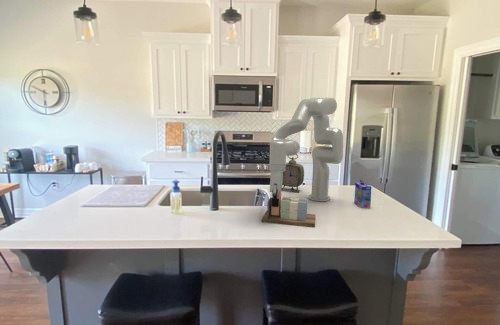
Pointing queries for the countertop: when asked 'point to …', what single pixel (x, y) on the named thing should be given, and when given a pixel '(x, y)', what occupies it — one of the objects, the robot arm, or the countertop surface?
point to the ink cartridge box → (362, 194)
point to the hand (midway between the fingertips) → (276, 203)
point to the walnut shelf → (288, 221)
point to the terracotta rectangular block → (276, 209)
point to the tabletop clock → (293, 174)
